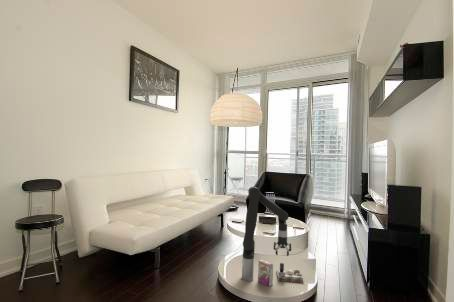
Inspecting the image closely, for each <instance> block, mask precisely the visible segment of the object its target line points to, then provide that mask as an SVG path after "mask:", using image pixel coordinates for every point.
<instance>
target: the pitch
mask: <svg viewBox="0 0 454 302" xmlns="http://www.w3.org/2000/svg"><path fill="white" fill-rule="evenodd" d="M275 273H276V277H277V281H278V282H284V283H285V282H286V283H296V284H304V283H305V282H304V277H303V273H302V272H301V269H297V268H296V269H293V274H292V275H289V274H288V271H286V270H285V276H279V274H278V270H276V271H275Z"/></svg>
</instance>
